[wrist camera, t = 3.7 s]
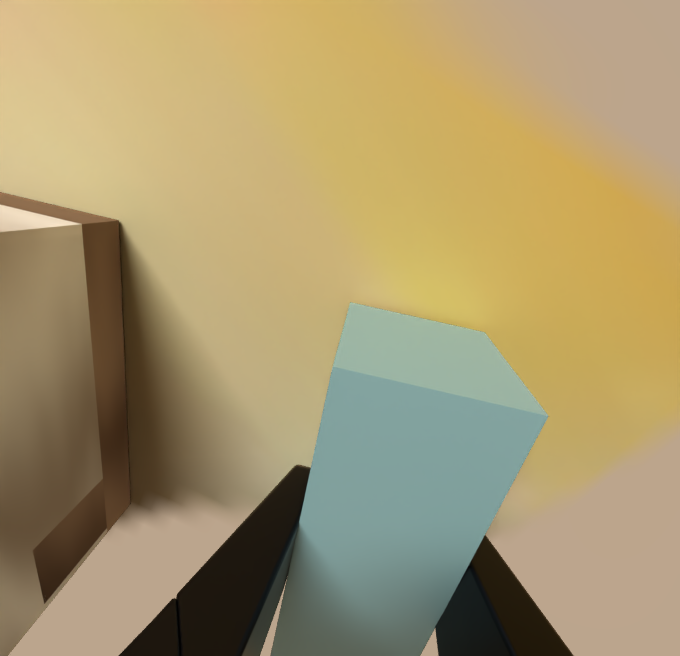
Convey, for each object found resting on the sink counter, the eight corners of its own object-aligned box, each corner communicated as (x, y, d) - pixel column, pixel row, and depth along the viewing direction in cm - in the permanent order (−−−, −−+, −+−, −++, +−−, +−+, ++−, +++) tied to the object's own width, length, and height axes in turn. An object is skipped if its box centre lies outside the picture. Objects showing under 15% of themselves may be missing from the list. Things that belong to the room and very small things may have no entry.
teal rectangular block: (392, 564, 10) (396, 700, 8) (297, 542, 10) (267, 666, 8) (484, 332, 7) (549, 416, 5) (350, 302, 7) (332, 366, 5)
